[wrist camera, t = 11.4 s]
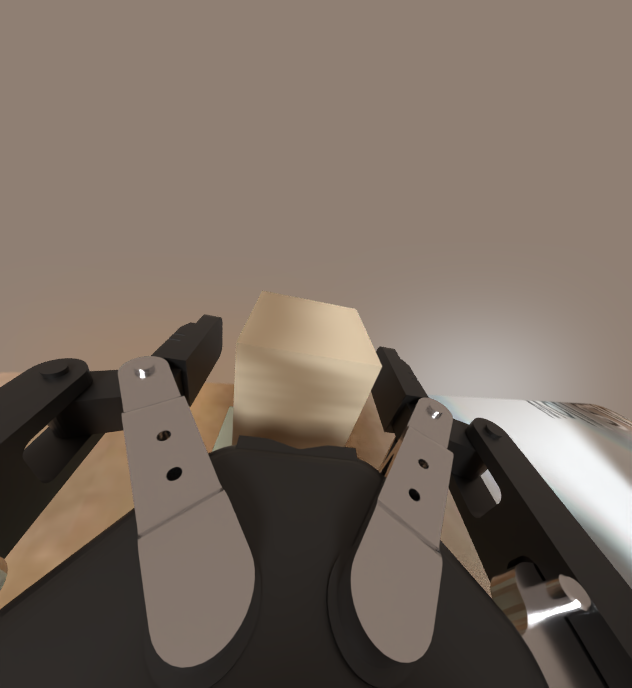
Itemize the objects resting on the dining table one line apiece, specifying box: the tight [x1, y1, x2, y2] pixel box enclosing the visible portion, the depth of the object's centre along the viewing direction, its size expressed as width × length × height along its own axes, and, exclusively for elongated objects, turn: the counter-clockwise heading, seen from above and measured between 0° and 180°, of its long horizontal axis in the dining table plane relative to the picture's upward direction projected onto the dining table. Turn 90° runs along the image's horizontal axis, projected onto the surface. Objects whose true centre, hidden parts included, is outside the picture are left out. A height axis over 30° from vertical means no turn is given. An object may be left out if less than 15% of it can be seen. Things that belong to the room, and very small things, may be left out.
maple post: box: [232, 291, 382, 449], centre depth 11 cm, size 4×4×10 cm
